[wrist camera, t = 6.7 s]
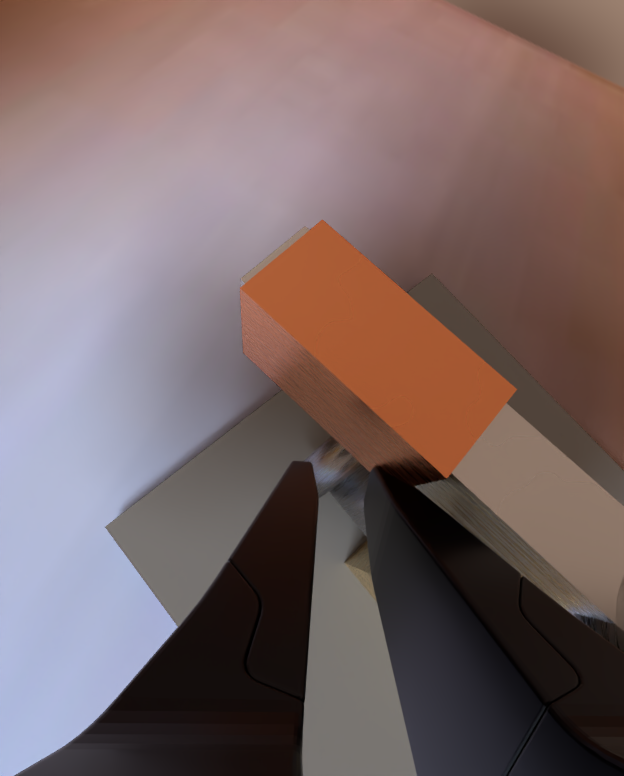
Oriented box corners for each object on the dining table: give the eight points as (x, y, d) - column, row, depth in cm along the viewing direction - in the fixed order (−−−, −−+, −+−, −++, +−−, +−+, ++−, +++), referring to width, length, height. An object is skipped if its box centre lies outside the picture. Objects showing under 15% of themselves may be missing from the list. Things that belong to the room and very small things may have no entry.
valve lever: (661, 599, 9) (827, 630, 7) (600, 717, 8) (762, 809, 6) (309, 282, 10) (329, 199, 8) (223, 358, 10) (212, 294, 7)
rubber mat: (741, 612, 16) (765, 616, 15) (483, 1031, 11) (499, 1067, 11) (424, 283, 18) (432, 273, 18) (113, 526, 14) (104, 527, 13)
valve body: (637, 665, 14) (878, 755, 9) (543, 805, 13) (764, 1020, 7) (389, 391, 16) (461, 322, 10) (280, 484, 14) (297, 461, 9)
